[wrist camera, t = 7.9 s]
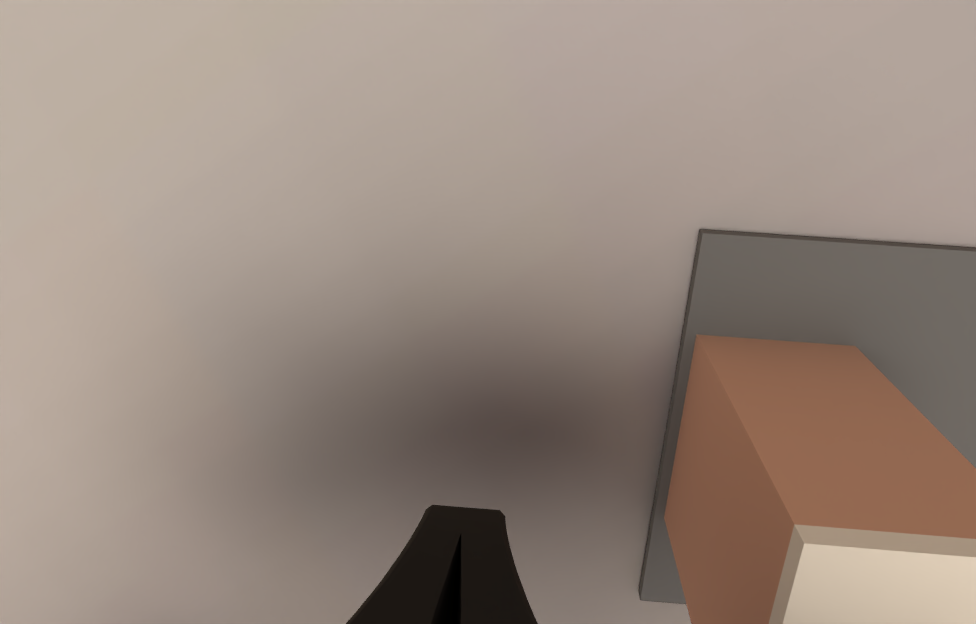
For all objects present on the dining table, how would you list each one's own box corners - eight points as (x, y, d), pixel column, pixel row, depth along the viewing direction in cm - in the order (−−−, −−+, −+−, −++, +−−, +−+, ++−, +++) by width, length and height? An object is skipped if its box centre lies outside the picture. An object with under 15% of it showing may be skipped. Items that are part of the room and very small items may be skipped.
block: (806, 529, 18) (958, 815, 12) (664, 517, 18) (736, 795, 12) (855, 345, 16) (1070, 565, 10) (696, 334, 16) (804, 543, 10)
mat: (1021, 624, 19) (1028, 633, 19) (638, 592, 19) (640, 600, 19) (1177, 261, 15) (1189, 266, 15) (699, 229, 16) (703, 233, 15)
